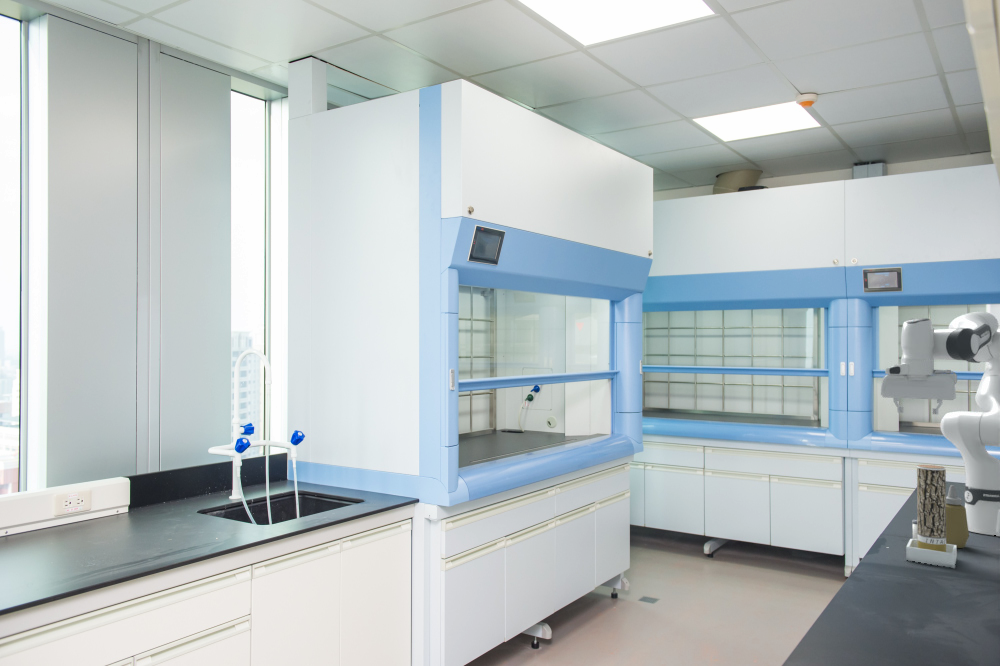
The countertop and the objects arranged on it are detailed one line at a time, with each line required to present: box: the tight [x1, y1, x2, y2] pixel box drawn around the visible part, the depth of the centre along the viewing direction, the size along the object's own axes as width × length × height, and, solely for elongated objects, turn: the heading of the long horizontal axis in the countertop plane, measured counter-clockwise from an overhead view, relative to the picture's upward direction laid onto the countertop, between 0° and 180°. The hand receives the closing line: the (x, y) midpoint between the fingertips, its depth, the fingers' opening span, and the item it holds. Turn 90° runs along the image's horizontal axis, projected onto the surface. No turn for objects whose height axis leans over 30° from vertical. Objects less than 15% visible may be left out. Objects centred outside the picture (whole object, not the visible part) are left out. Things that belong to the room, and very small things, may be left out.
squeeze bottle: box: [946, 485, 970, 549], centre depth 207 cm, size 8×8×18 cm
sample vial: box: [911, 519, 918, 540], centre depth 212 cm, size 3×3×6 cm
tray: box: [905, 538, 958, 569], centre depth 191 cm, size 11×11×4 cm
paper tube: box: [916, 464, 947, 552], centre depth 192 cm, size 7×7×25 cm
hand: (917, 413), depth 215 cm, fingers open, 8 cm apart
